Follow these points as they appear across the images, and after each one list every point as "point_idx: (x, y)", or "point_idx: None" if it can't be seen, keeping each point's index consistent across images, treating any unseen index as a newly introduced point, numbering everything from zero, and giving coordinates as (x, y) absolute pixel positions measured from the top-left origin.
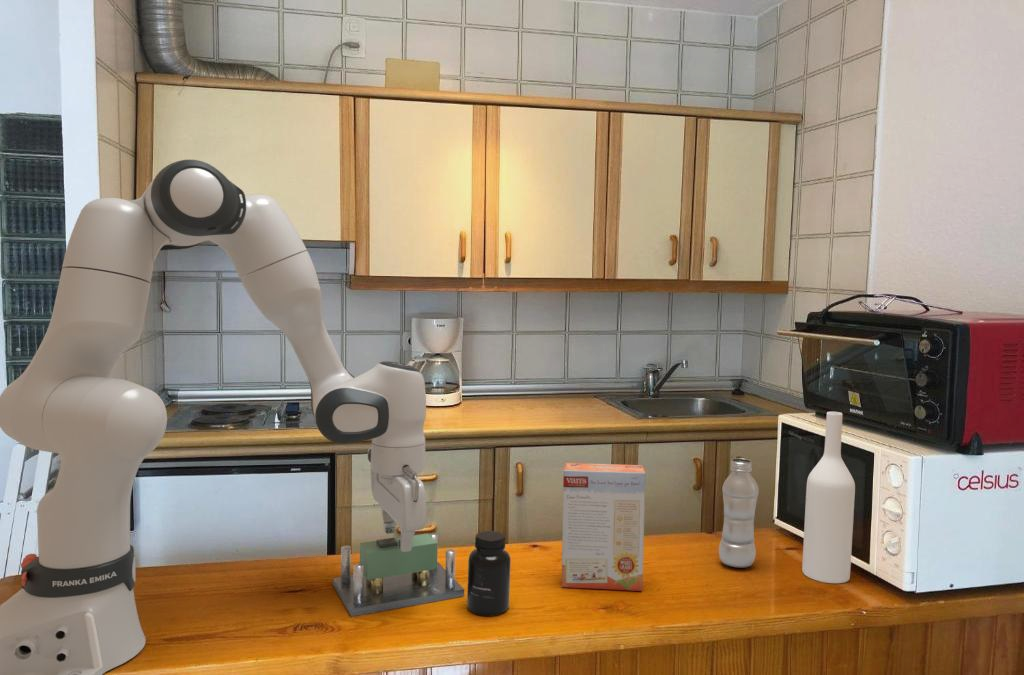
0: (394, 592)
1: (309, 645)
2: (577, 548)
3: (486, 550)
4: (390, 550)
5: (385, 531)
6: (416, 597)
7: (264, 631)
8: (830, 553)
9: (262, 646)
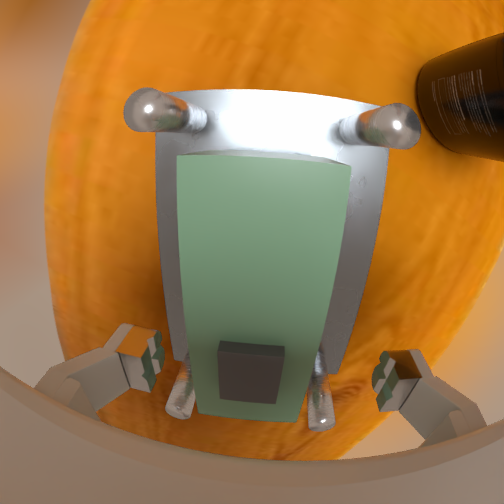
0: None
1: (374, 409)
2: None
3: None
4: (310, 374)
5: (160, 366)
6: (372, 248)
7: (302, 435)
8: None
9: (338, 437)
